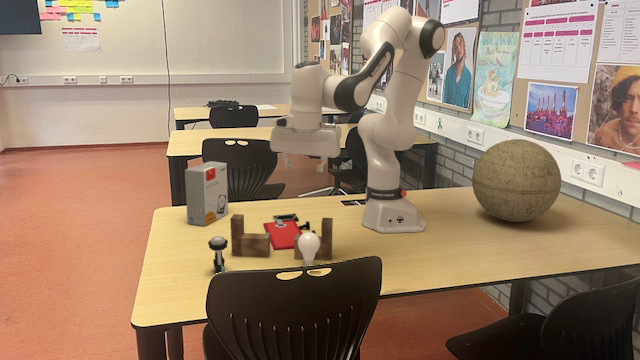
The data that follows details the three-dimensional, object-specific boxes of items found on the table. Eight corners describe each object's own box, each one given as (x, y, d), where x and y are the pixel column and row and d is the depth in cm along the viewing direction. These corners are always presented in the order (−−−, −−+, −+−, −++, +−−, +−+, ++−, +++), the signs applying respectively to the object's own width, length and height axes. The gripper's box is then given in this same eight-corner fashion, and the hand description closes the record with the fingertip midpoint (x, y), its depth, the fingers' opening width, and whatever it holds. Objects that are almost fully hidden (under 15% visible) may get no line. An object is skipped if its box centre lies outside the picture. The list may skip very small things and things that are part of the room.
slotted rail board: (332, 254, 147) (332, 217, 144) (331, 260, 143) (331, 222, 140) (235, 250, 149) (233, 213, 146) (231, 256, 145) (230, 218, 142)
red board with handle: (300, 215, 181) (260, 219, 178) (300, 208, 180) (260, 212, 177) (320, 247, 153) (274, 253, 150) (320, 239, 153) (273, 244, 149)
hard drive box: (205, 227, 168) (201, 172, 163) (186, 224, 171) (183, 169, 166) (229, 213, 182) (226, 162, 177) (211, 211, 185) (209, 160, 180)
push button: (208, 266, 138) (206, 234, 135) (227, 264, 140) (225, 232, 137) (210, 277, 132) (208, 243, 129) (230, 274, 134) (228, 241, 131)
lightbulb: (303, 275, 134) (303, 238, 131) (294, 266, 139) (293, 230, 136) (323, 270, 136) (324, 234, 133) (313, 262, 142) (314, 227, 139)
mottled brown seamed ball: (516, 203, 197) (525, 131, 189) (574, 229, 170) (587, 145, 162) (452, 210, 188) (459, 134, 180) (503, 238, 161) (514, 150, 153)
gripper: (344, 123, 134) (342, 171, 137) (276, 117, 140) (276, 163, 143) (338, 125, 128) (336, 176, 132) (267, 119, 134) (267, 168, 138)
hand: (304, 169), depth 138 cm, fingers open, 8 cm apart
